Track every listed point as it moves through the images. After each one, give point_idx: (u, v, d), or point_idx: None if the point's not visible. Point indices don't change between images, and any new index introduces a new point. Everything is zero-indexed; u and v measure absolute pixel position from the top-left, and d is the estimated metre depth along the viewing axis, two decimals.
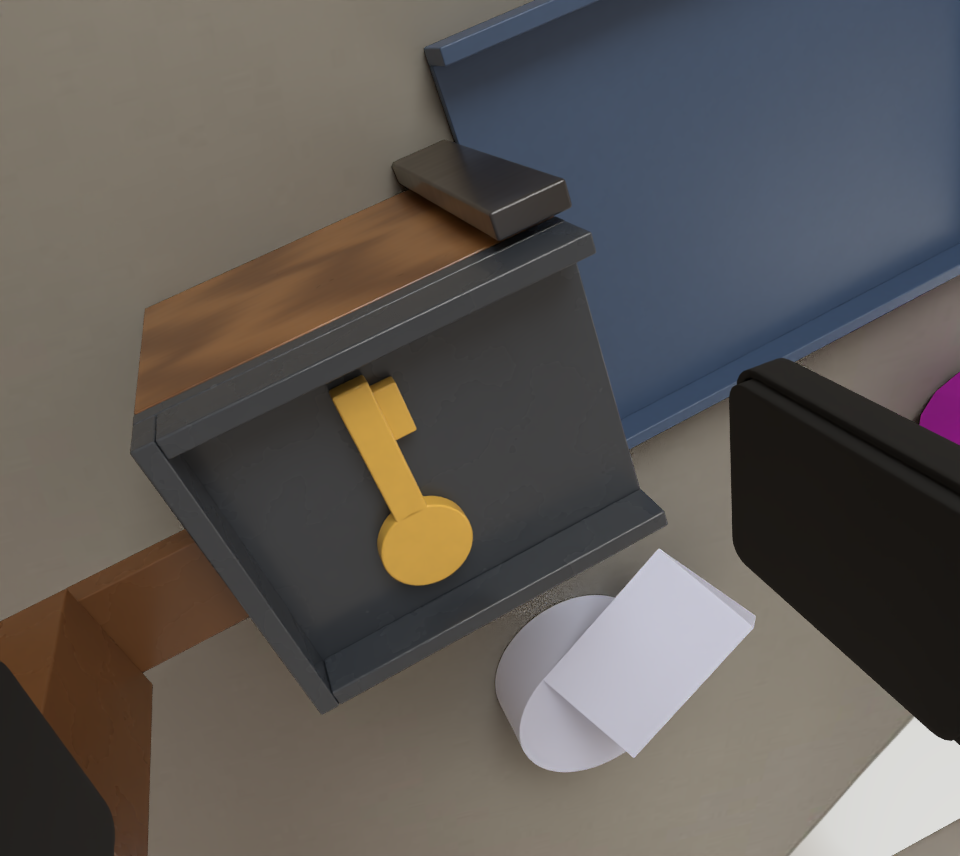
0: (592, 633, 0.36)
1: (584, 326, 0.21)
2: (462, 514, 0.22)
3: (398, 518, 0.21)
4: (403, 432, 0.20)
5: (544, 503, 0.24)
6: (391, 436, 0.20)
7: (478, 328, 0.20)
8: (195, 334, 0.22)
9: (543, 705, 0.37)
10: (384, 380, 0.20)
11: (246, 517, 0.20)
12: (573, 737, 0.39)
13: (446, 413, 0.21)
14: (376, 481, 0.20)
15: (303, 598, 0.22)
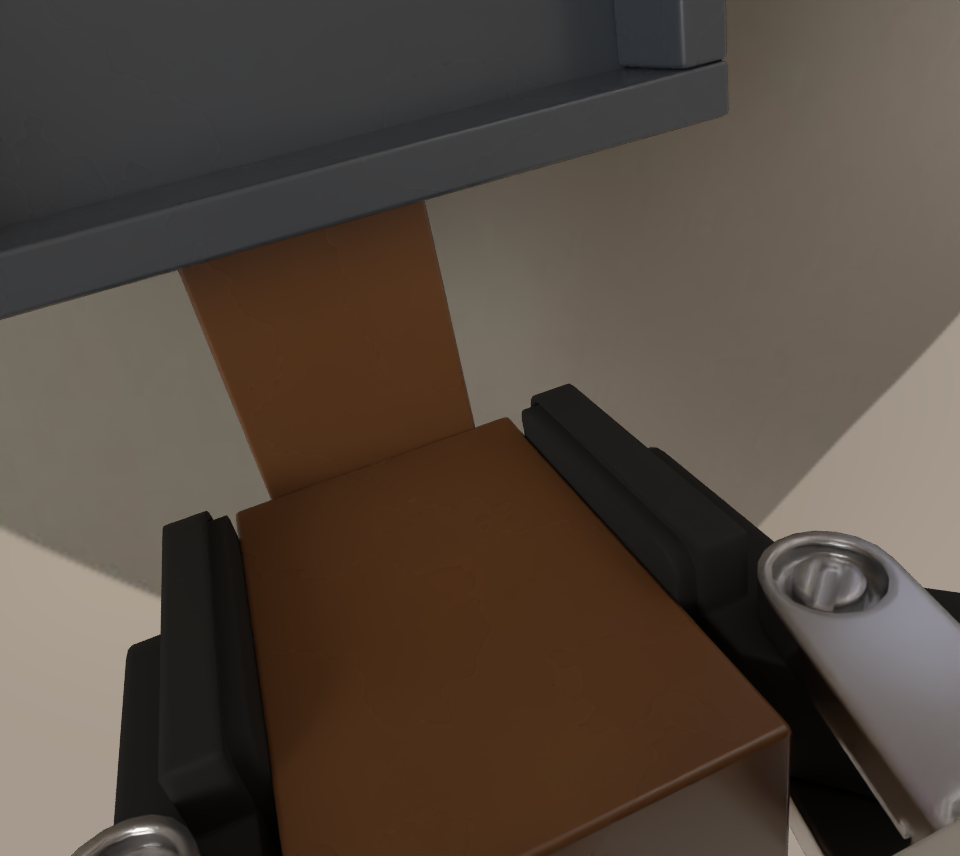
0: None
1: None
2: None
3: None
4: None
5: None
6: None
7: None
8: None
9: None
10: None
11: (150, 143, 0.08)
12: None
13: None
14: None
15: (432, 67, 0.09)
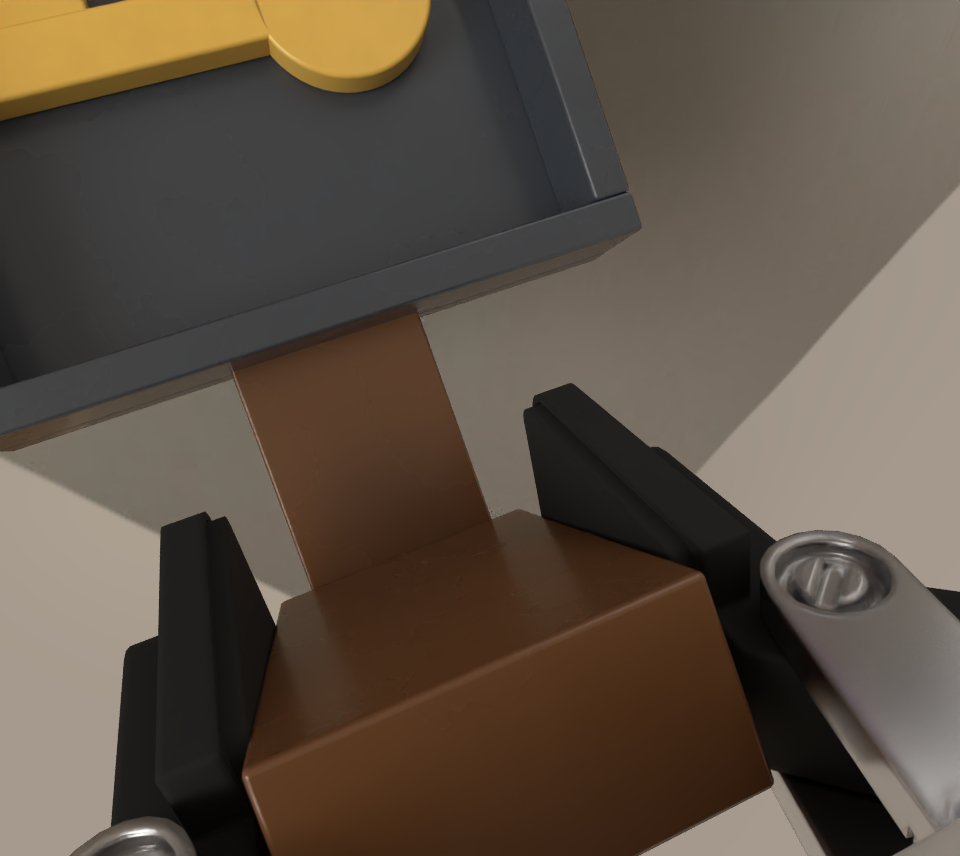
0: None
1: None
2: None
3: (260, 31, 0.11)
4: None
5: None
6: (69, 15, 0.11)
7: None
8: None
9: None
10: None
11: (223, 306, 0.12)
12: None
13: None
14: (164, 58, 0.11)
15: (422, 239, 0.12)
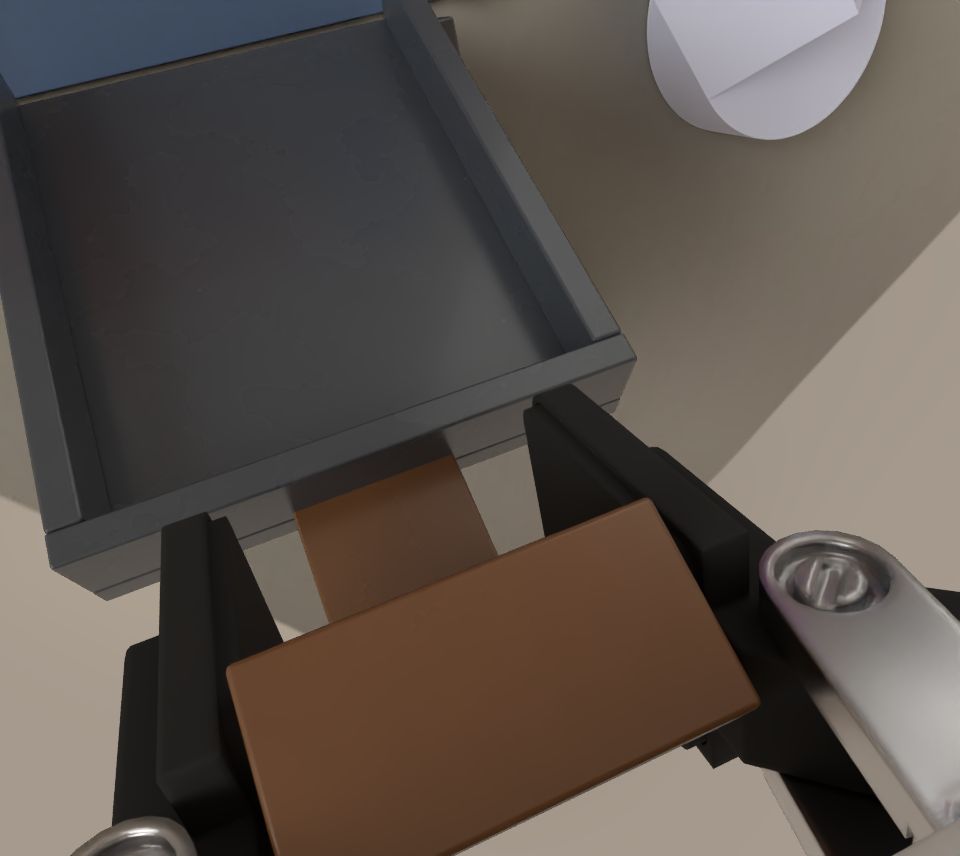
0: (675, 21, 0.28)
1: (133, 86, 0.18)
2: None
3: None
4: None
5: (375, 115, 0.18)
6: None
7: (96, 190, 0.16)
8: None
9: (744, 101, 0.30)
10: None
11: None
12: (815, 63, 0.31)
13: (203, 222, 0.16)
14: None
15: None
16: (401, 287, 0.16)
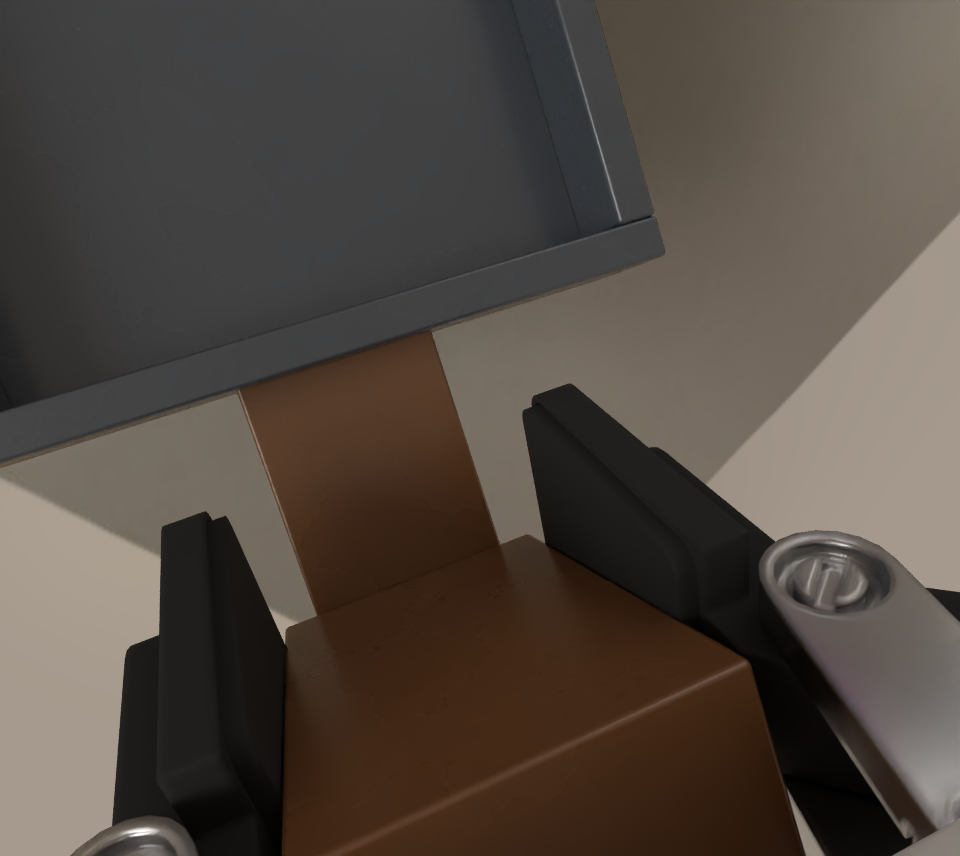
0: None
1: None
2: None
3: None
4: None
5: None
6: None
7: None
8: None
9: None
10: None
11: (228, 320, 0.11)
12: None
13: None
14: None
15: (436, 254, 0.12)
16: (374, 71, 0.11)
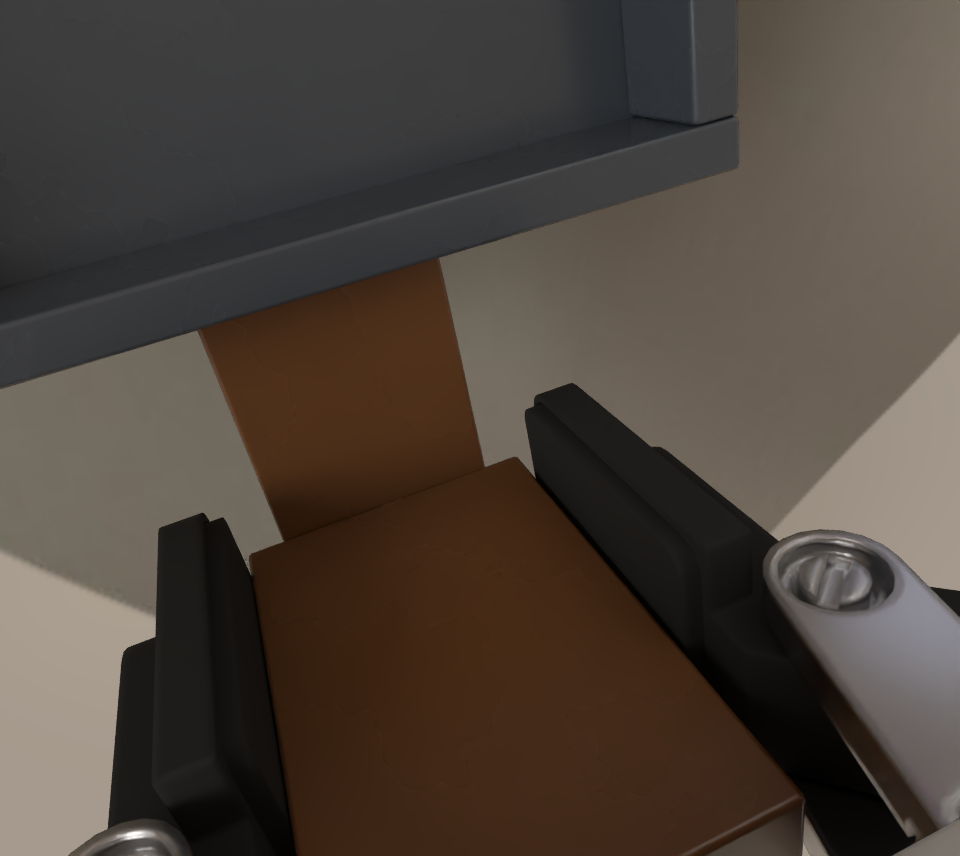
0: None
1: None
2: None
3: None
4: None
5: None
6: None
7: None
8: None
9: None
10: None
11: (168, 199, 0.08)
12: None
13: None
14: None
15: (446, 119, 0.09)
16: None
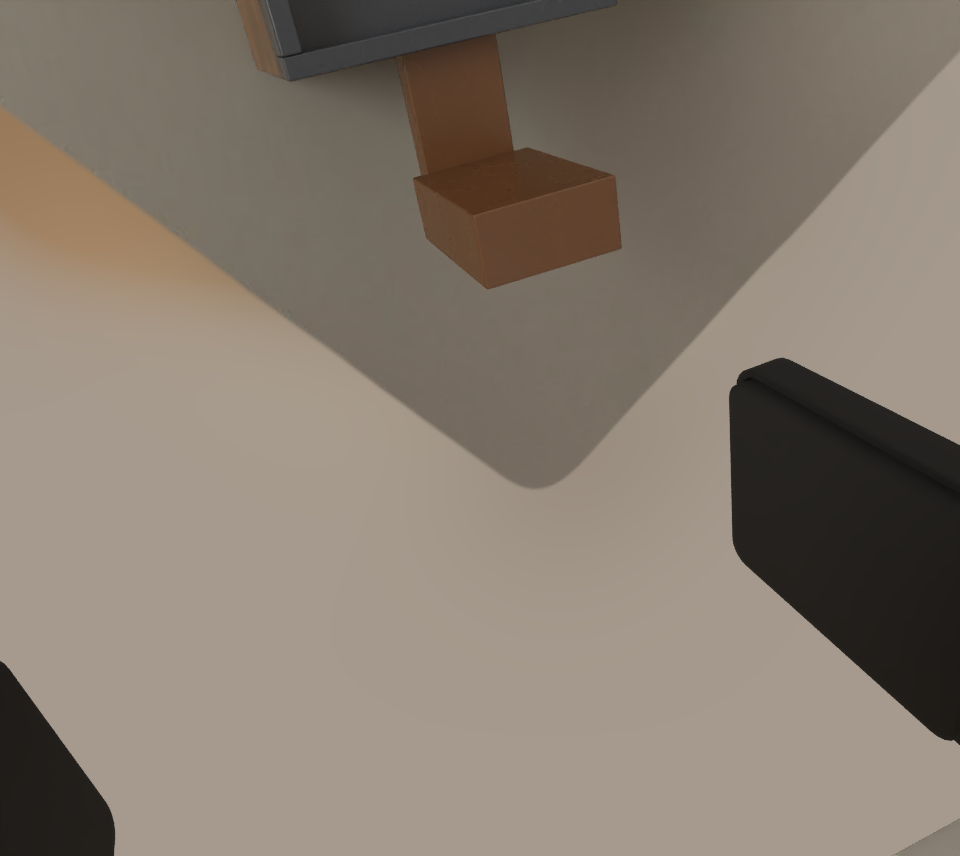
0: None
1: None
2: None
3: None
4: None
5: None
6: None
7: None
8: (251, 15, 0.25)
9: None
10: None
11: (397, 11, 0.22)
12: None
13: None
14: None
15: None
16: None
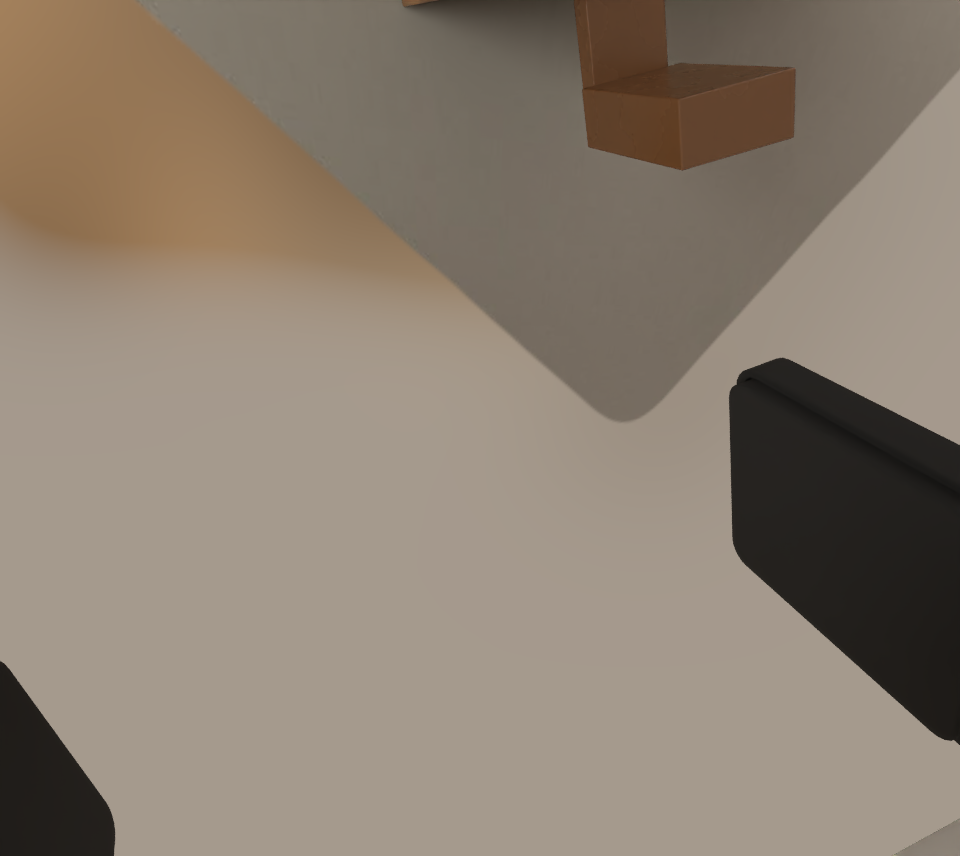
0: None
1: None
2: None
3: None
4: None
5: None
6: None
7: None
8: None
9: None
10: None
11: None
12: None
13: None
14: None
15: None
16: None
